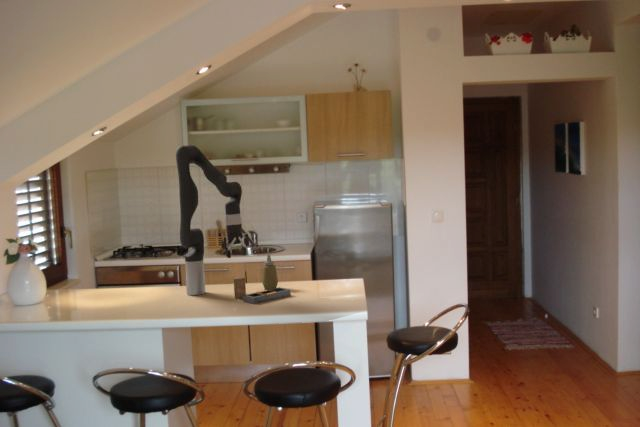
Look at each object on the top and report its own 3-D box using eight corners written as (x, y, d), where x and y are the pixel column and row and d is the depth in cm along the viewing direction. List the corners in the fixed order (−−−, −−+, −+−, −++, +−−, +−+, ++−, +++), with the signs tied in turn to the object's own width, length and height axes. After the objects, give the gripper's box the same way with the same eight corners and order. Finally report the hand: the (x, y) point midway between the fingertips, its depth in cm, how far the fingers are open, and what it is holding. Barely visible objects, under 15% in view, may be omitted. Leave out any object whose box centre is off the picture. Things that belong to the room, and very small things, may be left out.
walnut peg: (234, 298, 343) (233, 278, 342) (241, 297, 346) (240, 277, 345) (239, 299, 340) (238, 279, 339) (246, 298, 343) (245, 278, 342)
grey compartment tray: (242, 301, 336) (242, 294, 336) (279, 293, 350) (279, 286, 350) (253, 304, 329) (253, 297, 329) (290, 295, 344) (290, 289, 343)
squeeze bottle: (281, 288, 362) (279, 253, 360) (272, 291, 356) (270, 256, 354) (268, 287, 367) (267, 252, 365) (259, 290, 360) (257, 255, 358)
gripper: (241, 221, 347) (244, 253, 348) (217, 224, 338) (219, 258, 339) (250, 221, 341) (252, 255, 343) (225, 225, 332) (228, 259, 333)
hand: (236, 256), depth 341 cm, fingers open, 8 cm apart
